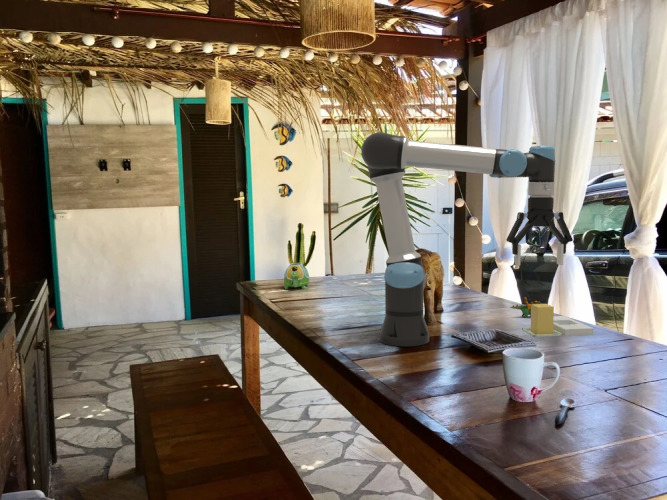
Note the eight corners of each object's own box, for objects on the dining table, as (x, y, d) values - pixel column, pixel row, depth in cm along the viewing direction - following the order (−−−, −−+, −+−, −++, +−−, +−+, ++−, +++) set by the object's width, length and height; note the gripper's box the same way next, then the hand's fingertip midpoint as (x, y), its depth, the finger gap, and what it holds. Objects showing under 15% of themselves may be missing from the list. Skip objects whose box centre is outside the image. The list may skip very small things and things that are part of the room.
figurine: (544, 320, 203) (544, 297, 202) (511, 321, 202) (511, 298, 201) (540, 318, 206) (540, 295, 205) (507, 319, 205) (508, 296, 204)
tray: (534, 339, 177) (534, 335, 177) (521, 332, 186) (522, 328, 186) (562, 338, 178) (562, 333, 177) (548, 331, 186) (549, 327, 186)
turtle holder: (280, 292, 269) (280, 266, 268) (285, 286, 287) (285, 262, 286) (307, 292, 269) (306, 266, 268) (310, 285, 287) (310, 261, 286)
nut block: (537, 336, 179) (538, 307, 178) (530, 332, 184) (531, 304, 183) (553, 335, 179) (553, 306, 178) (545, 331, 184) (546, 303, 183)
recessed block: (564, 339, 177) (565, 329, 177) (538, 325, 195) (538, 316, 195) (593, 337, 178) (593, 328, 178) (564, 324, 196) (564, 315, 195)
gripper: (505, 196, 174) (504, 266, 177) (585, 196, 176) (583, 265, 178) (497, 196, 182) (495, 263, 184) (573, 196, 184) (571, 262, 186)
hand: (538, 264), depth 181 cm, fingers open, 13 cm apart
